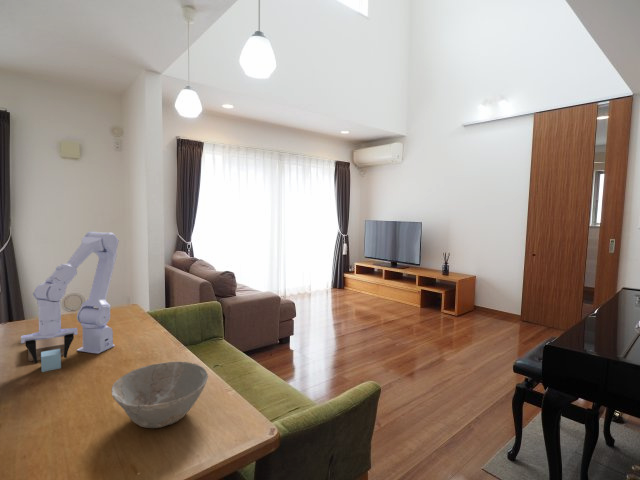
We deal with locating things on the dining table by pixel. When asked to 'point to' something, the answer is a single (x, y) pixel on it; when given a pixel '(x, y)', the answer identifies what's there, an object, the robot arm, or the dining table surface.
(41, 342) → the walnut block
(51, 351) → the blue cube
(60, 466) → the dining table surface
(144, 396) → the ceramic bowl
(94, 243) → the robot arm
